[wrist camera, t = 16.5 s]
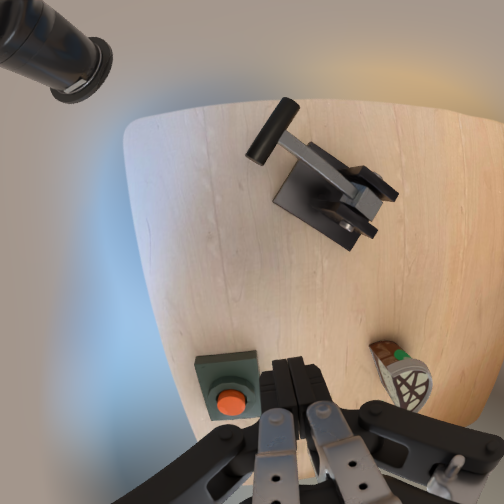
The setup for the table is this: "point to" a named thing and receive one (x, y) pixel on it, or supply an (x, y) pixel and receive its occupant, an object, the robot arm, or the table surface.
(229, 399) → the button
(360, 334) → the table surface
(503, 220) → the table surface
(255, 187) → the table surface
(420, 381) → the food container
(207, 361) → the button box
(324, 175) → the lever
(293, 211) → the bracket
